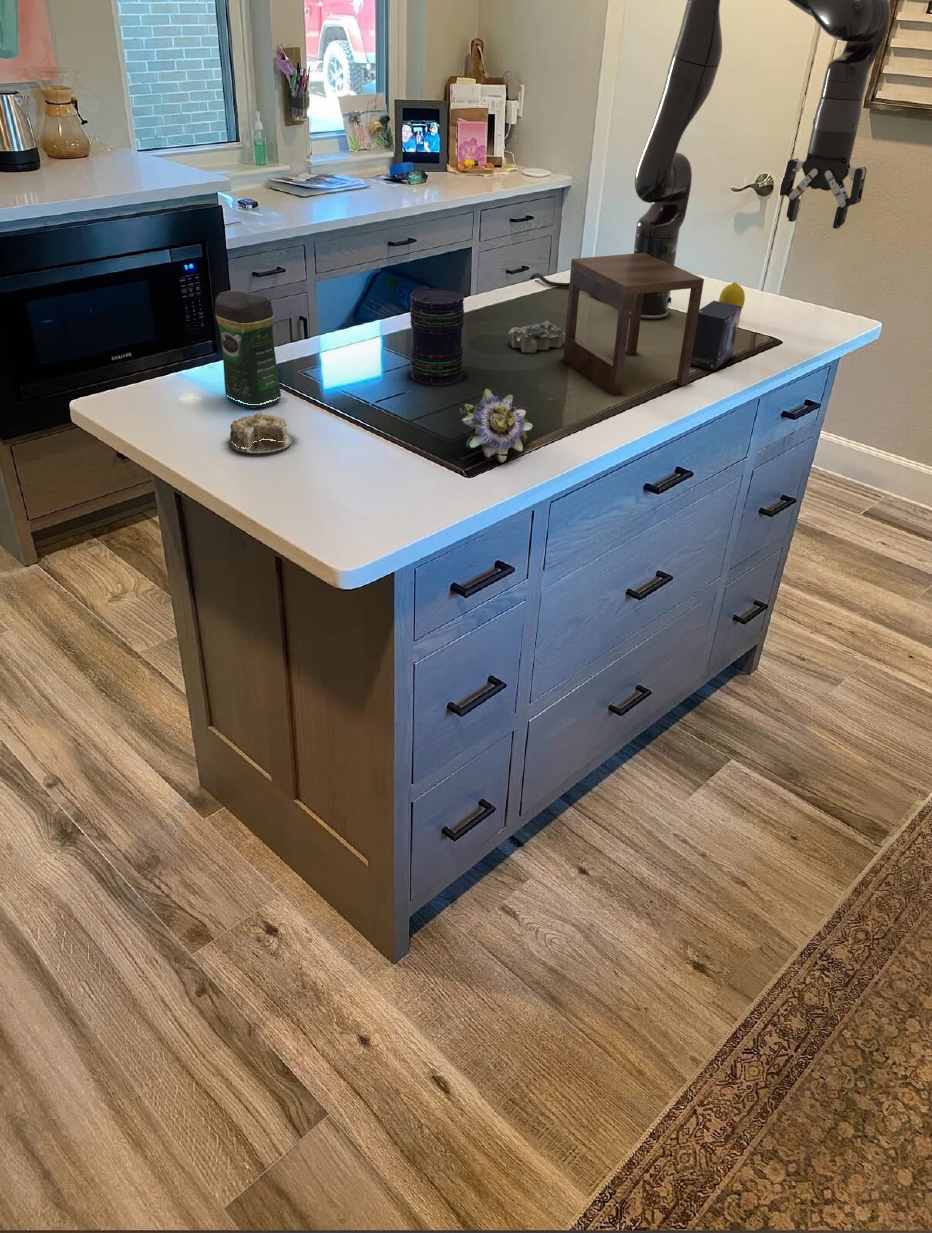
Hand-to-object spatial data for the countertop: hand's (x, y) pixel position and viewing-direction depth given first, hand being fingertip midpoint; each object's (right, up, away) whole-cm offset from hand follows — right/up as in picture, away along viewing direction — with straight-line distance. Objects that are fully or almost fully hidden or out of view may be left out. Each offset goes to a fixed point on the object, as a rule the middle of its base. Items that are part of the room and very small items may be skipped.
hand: (813, 224), depth 175 cm
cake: (-98, -45, -24) cm, 110 cm away
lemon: (-5, -5, +39) cm, 40 cm away
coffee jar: (-102, -35, -9) cm, 108 cm away
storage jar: (-70, -27, +4) cm, 75 cm away
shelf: (-34, -26, +8) cm, 43 cm away
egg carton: (-50, -17, +20) cm, 57 cm away
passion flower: (-61, -47, -24) cm, 80 cm away
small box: (-16, -22, +14) cm, 30 cm away
